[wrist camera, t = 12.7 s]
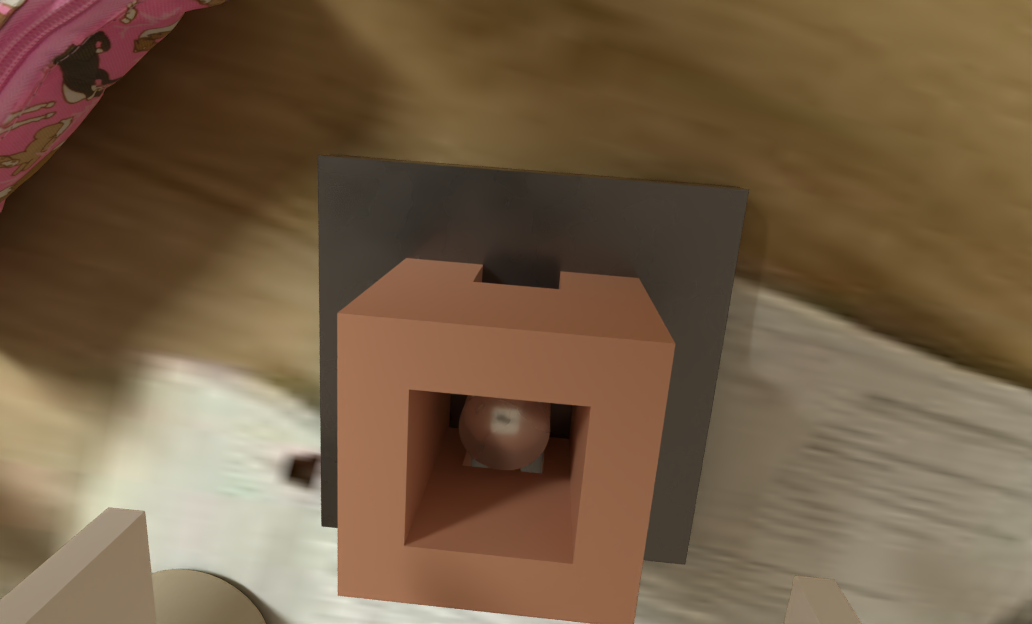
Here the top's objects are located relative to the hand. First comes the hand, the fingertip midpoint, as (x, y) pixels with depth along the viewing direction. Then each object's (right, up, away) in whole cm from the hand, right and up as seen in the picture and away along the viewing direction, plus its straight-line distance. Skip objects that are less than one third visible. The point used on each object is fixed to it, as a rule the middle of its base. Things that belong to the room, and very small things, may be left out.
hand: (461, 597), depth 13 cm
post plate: (+1, +4, +14) cm, 15 cm away
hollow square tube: (+1, +3, +13) cm, 13 cm away
